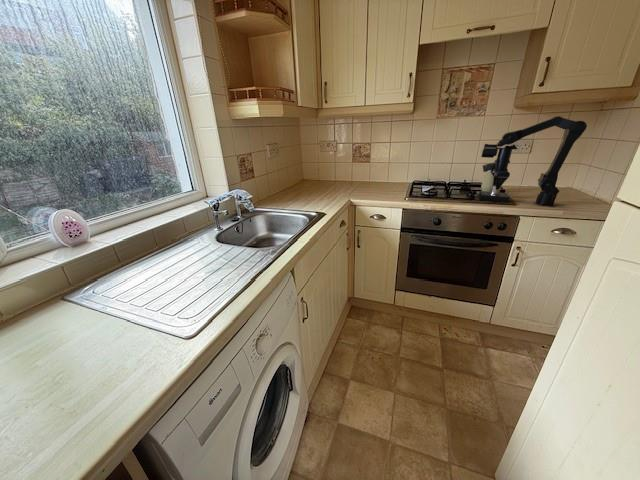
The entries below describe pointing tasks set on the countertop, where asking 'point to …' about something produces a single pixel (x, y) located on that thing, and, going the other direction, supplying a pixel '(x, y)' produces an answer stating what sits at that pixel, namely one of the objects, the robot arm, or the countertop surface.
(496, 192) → the dial
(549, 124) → the robot arm
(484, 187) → the squeeze bottle
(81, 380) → the countertop surface
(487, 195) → the control panel
